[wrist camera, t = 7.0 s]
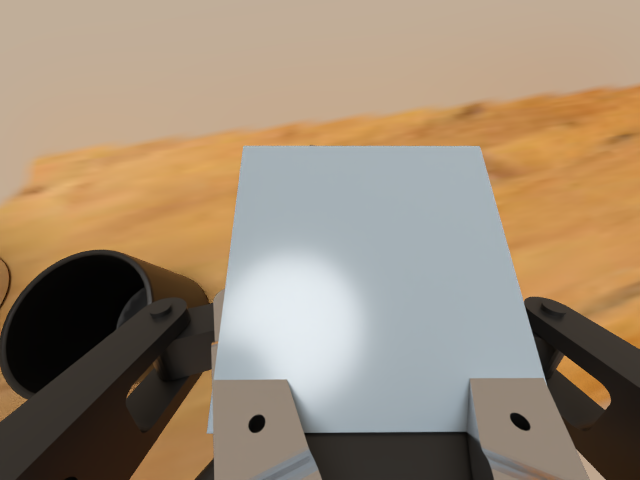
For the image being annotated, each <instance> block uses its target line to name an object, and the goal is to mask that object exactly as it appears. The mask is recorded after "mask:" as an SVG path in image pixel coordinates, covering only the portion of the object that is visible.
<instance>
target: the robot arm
mask: <svg viewBox="0 0 640 480" xmlns="http://www.w3.org/2000/svg"><path fill="white" fill-rule="evenodd" d="M8 283H9V274H8V269H7V267H6V265H5V263H4V262H3V261H2V260H1V259H0V305H1V303H2V301H3V299H4V297H5V295H6V292H7V288H8ZM224 294H225V289H223V290H221V291H220V292H219V293H218V294H217V295H216V296H215V297H214V300H213V303H211V304H207V305H203V306H198V307H193V308H189V309H188V307H187V304H186V302H185V301H184V300H183V299H181V298H175V297H173V298H165V299H161V300H158V301H155V302H153V303H151V304H149V305H147V306H146V307H144V308H143V309H142V310H140V311H139V312H138V313H137V314H135V315H134V316H133V317H132V318H130V319H129V320H128V321H126V322H125V323H124V324H123V325H121V326H120V327H119V328H118V329H116V330H115V331H114V332H113V333H111V334H110V335H109V336H108V337H106V338H105V339H104V340H103V341H101V342H100V343H99V344H98V345H96V346H95V347H94V348H93V349H91V350H90V351H89V352H88V353H86V354H85V355H84V356H83V357H81V358H80V359H79V360H78V361H76V362H75V363H74V364H73V365H71V366H70V367H69V368H68V369H66V370H65V371H64V372H63V373H61V374H60V375H59V376H58V377H56V378H55V379H54V380H53V381H51V382H50V383H49V384H47V385H46V386H45V387H44V388H42V389H41V390H40V391H39V392H37V393H36V394H35V395H34V396H32V397H31V398H30V399H29V400H27V401H26V402H25V403H24V404H22V405H21V406H20V407H19V408H17V409H16V410H15V411H14V412H12V413H11V414H10V415H9V416H7V417H6V418H5V419H4V420H2V421H1V422H0V480H129V479H130V478H131V476H132V475H133V473H134V472H135V471H136V469H137V468H138V466H139V465H140V463H141V462H142V460H143V459H144V457H145V456H146V454H147V453H148V452H149V450H150V449H151V447H152V446H153V444H154V443H155V441H156V440H157V438H158V437H159V435H160V434H161V433H162V431H163V430H164V428H165V427H166V425H167V424H168V422H169V421H170V419H171V418H172V417H173V415H174V414H175V412H176V411H177V409H178V408H179V406H180V405H181V403H182V402H183V400H184V399H185V398H186V396H187V395H188V393H189V392H190V390H191V389H192V387H193V386H194V384H195V383H196V381H197V380H198V379H199V377H200V376H201V374H202V372H204V371H207V370H211V369H212V399H213V442H214V458H213V460H212V461H211V462H210V463H209V464H208V465H207V466H206V467H205V469H204V470H203V471H202V472H201V473H200V474H199V475H198V476H197V477H196V479H195V480H590V479H589V477H588V475H587V473H586V470H585V468H584V466H583V464H582V462H581V459H580V457H579V455H578V453H577V451H576V449H577V450H578V451H579V452H580V453H581V454H582V455H583V457H584V458H585V459H586V460H587V461H588V462H589V463H591V465H592V466H593V467H594V468H595V469H596V470H597V471H598V472H599V473H600V474H601V475H602V476H603V477H604V478H605V479H606V480H640V349H638V348H636V347H635V346H633V345H631V344H630V343H628V342H626V341H625V340H623V339H621V338H620V337H618V336H616V335H614V334H613V333H611V332H609V331H608V330H606V329H604V328H603V327H601V326H599V325H598V324H596V323H594V322H593V321H591V320H589V319H588V318H586V317H584V316H583V315H581V314H579V313H578V312H576V311H574V310H572V309H571V308H569V307H567V306H565V305H563V304H561V303H559V302H556V301H553V300H550V299H547V298H542V297H529V298H526V299H525V301H524V305H525V309H526V312H527V316H528V319H529V323H530V327H531V330H532V334H533V337H534V341H535V344H536V348H537V351H538V355H539V359H540V362H541V366H542V369H543V373H544V376H545V380H546V382H545V380H544V378H470V383H469V397H468V412H467V426H466V427H467V432H340V433H304V432H303V429H302V425H301V422H300V419H299V416H298V413H297V410H296V407H295V403H294V400H293V397H292V394H291V391H290V388H289V385H288V381H287V379H267V380H214V373H215V365H216V357H217V349H218V341H219V333H220V325H221V318H222V310H223V302H224ZM564 355H565V356H567V357H568V358H569V359H571V360H572V361H573V362H574V363H576V364H577V365H578V366H580V367H581V368H582V369H584V370H585V371H586V372H588V373H589V374H590V375H592V376H593V377H594V378H595V379H597V380H598V381H599V382H601V383H602V384H603V385H604V386H605V388H606V389H607V390H608V392H609V394H610V397H611V403H610V405H609V406H608V408H607V409H606V410H604V409H603V408H602V407H601V406H599V405H598V404H597V403H596V402H595V401H593V400H592V399H591V398H590V397H589V396H587V395H586V394H585V393H584V392H583V391H581V390H580V389H579V388H578V387H577V386H575V385H574V384H573V383H572V382H571V381H569V380H568V379H567V378H566V377H565V376H563V375H562V374H561V373H560V372H559V371H557V370H556V368H557V366H558V365H559V363H560V361H561V360H562V358H563V357H564ZM152 363H153V365H154V369H153V370H152V371H151V372H150V373H149V374H148V375H147V376H146V377H145V379H144V380H143V381H142V382H141V383H140V384H139V385H138V386H137V387H136V389H135V390H134V391H133V392H132V393H131V394H130V395H129V396H128V397H127V394H128V392H129V390H130V388H131V387H132V385H133V384H134V383H135V382H136V381H137V380H138V379H139V377H140V376H141V375H142V374H143V373H144V372H145V371H146V370H147V369H148V368H149V367H150V366H151V364H152ZM546 383H547V385H546ZM126 397H127V399H126Z"/></svg>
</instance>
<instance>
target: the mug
mask: <svg viewBox="0 0 640 480" xmlns="http://www.w3.org/2000/svg"><path fill="white" fill-rule="evenodd" d="M173 297H175V298H181V299H183V300H184V301H185V302H186V304H187V307H188V309H189V308H193V307H198V306H203V305H207V304H208V301H207V298H206V296H205V294H204V292H203V290H202V289H201V288H200V287H199V286H198V284H196V283H195V282H194V281H192V280H191V279H189V278H187V277H184V276H182V275H179V274H177V273H174V272H171V271H169V270H166V269H163V268H161V267H158V266H155V265H153V264H150V263H148V262H145V261H142V260H140V259H137V258H134V257H132V256H129V255H126V254H124V253H120V252H117V251H111V250H91V251H85V252H80V253H77V254H74V255H71V256H69V257H66V258H64V259H62V260H60V261H58V262H56V263H55V264H53V265H51V266H50V267H48V268H47V269H46V270H44V271H43V272H42V273H40V274H39V275H38V276H37V277H36V278H35V279H34V280H33V281H31V282H30V284H29V285H28V286H27V287H26V288H25V289H24V290H23V291H22V292H21V294H20V295H19V297H18V298H17V300H16V301H15V302H14V304H13V306H12V308H11V309H10V311H9V313H8V315H7V317H6V320H5V322H4V325H3V328H2V332H1V336H0V367H1V371H2V373H3V376H4V378H5V380H6V382H7V383H8V385H9V386H10V387H11V388H12V389H13V390H14V391H15V392H16V393H17V394H19V395H20V396H22V397H23V398H25V399H28V400H29V399H30V398H31V397H32V396H34V395H35V394H36V393H37V392H39V391H40V390H41V389H42V388H44V387H45V386H46V385H47V384H49V383H50V382H51V381H53V380H54V379H55V378H56V377H58V376H59V375H60V374H61V373H63V372H64V371H65V370H66V369H68V368H69V367H70V366H71V365H73V364H74V363H75V362H76V361H78V360H79V359H80V358H81V357H83V356H84V355H85V354H86V353H88V352H89V351H90V350H91V349H93V348H94V347H95V346H96V345H98V344H99V343H100V342H101V341H103V340H104V339H105V338H106V337H108V336H109V335H110V334H111V333H113V332H114V331H115V330H116V329H118V328H119V327H120V326H121V325H123V324H124V323H125V322H126V321H128V320H129V319H130V318H132V317H133V316H134V315H135V314H137V313H138V312H139V311H140V310H142V309H143V308H144V307H146V306H147V305H149V304H151V303H153V302H155V301H158V300H161V299H165V298H173ZM153 369H154V365H153V363H152V364H151V366H150V367H149V368H148V369H147V370H146V371H145V372H144V373H143V374H142V375H141V376H140V377H139V379H138V380H137V381H136V382H135V383H139V382H142V381H143V380H144V379H145V377H146V376H147V375H148V374H149V373H150V372H151V371H152V370H153ZM135 383H134V384H135Z"/></svg>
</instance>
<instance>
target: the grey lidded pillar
mask: <svg viewBox="0 0 640 480" xmlns="http://www.w3.org/2000/svg"><path fill="white" fill-rule="evenodd" d="M470 378H544V380H545V376H544V373H543V369H542V366H541V362H540V359H539V355H538V351H537V348H536V344H535V341H534V337H533V334H532V330H531V327H530V323H529V319H528V316H527V312H526V309H525V305H524V302H523V298H522V295H521V291H520V287H519V284H518V280H517V277H516V273H515V270H514V266H513V263H512V259H511V255H510V252H509V248H508V245H507V241H506V238H505V234H504V231H503V227H502V223H501V220H500V216H499V213H498V209H497V206H496V202H495V199H494V195H493V191H492V188H491V184H490V181H489V177H488V174H487V170H486V167H485V163H484V159H483V156H482V152H481V149H480V146H243V153H242V160H241V168H240V176H239V184H238V192H237V200H236V208H235V215H234V223H233V231H232V239H231V247H230V255H229V263H228V270H227V278H226V286H225V294H224V302H223V310H222V318H221V325H220V333H219V341H218V349H217V357H216V365H215V373H214V380H267V379H287V381H288V385H289V388H290V391H291V394H292V397H293V400H294V403H295V407H296V410H297V413H298V416H299V419H300V422H301V425H302V429H303V432H304V433H340V432H467V427H466V426H467V412H468V397H469V383H470ZM545 382H546V380H545ZM546 385H547V383H546ZM207 433H213V399H212V396H211V404H210V412H209V420H208V428H207Z"/></svg>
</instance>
